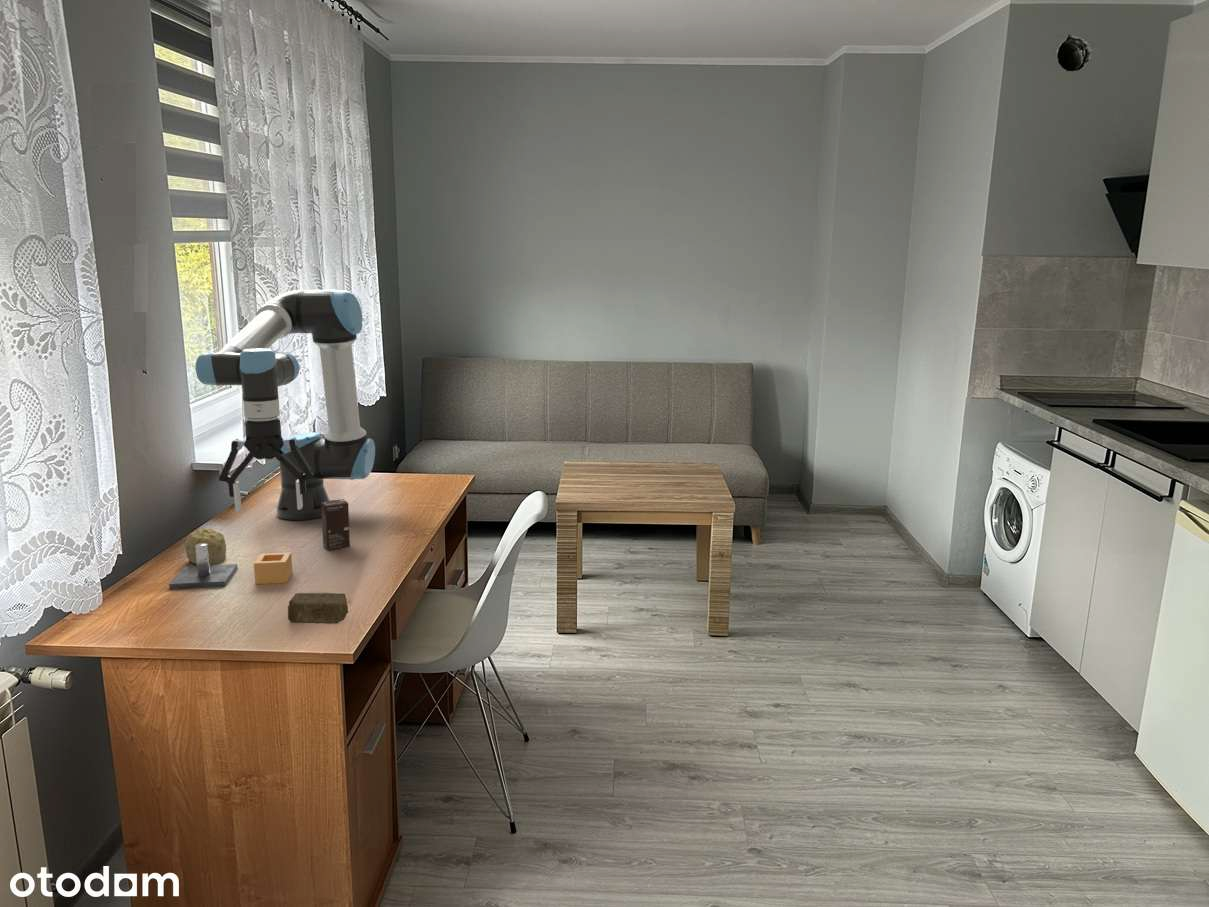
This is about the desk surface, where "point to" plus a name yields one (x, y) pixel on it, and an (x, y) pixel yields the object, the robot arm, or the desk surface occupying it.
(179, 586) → the keeper
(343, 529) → the box
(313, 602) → the stone block
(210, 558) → the decorative item
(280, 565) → the tan square-hole block
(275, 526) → the desk surface
